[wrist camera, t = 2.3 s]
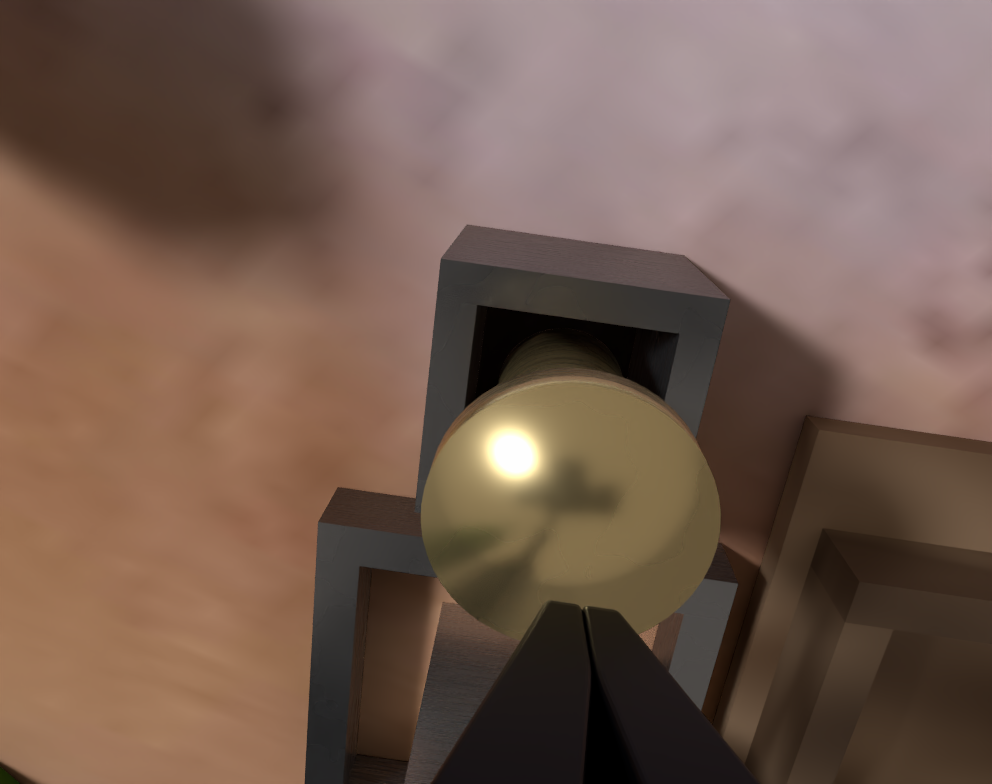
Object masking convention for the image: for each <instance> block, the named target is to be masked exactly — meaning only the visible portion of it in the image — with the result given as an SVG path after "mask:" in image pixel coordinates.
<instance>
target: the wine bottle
mask: <svg viewBox="0 0 992 784" xmlns="http://www.w3.org/2000/svg"><path fill="white" fill-rule="evenodd" d="M0 784H20V783H19V782H18V781H17V780H15V779H14V778H13V777H12V776H11V775H10V774H8V773H7V772H6V771H5V770H4V769H2V768H1V767H0Z"/></svg>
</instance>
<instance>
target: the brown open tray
mask: <svg viewBox="0 0 992 784" xmlns="http://www.w3.org/2000/svg"><path fill="white" fill-rule="evenodd" d="M713 726H714V728H715V729H716V730H717V731H718V732H719V734H720V735H721V736H722V737H723V739H724V740H725V741H726V742H727V743H728V745H729V746H730V747H731V748H732V749H733V751H734V752H735V753H736V754H737V756H738V757H739V758H740V759H741V760H742V762H743V763H744V764H745V765H746V766H747V768H748V769H749V770H750V771H751V773H752V774H753V775H754V776H755V777H756V779H757V780H758V781H759V782H760V784H992V442H986V441H979V440H972V439H965V438H958V437H951V436H944V435H938V434H931V433H924V432H917V431H910V430H903V429H896V428H889V427H882V426H875V425H868V424H861V423H854V422H847V421H840V420H833V419H827V418H820V417H813V416H806V418H805V421H804V425H803V428H802V431H801V434H800V438H799V441H798V444H797V448H796V451H795V454H794V458H793V461H792V464H791V467H790V471H789V474H788V477H787V481H786V484H785V487H784V491H783V494H782V497H781V501H780V504H779V507H778V510H777V514H776V517H775V520H774V524H773V527H772V530H771V534H770V537H769V540H768V543H767V547H766V550H765V553H764V557H763V560H762V563H761V567H760V570H759V573H758V576H757V580H756V583H755V586H754V590H753V593H752V596H751V600H750V603H749V606H748V609H747V613H746V616H745V619H744V623H743V626H742V629H741V633H740V636H739V639H738V642H737V646H736V649H735V652H734V656H733V659H732V662H731V666H730V669H729V672H728V676H727V679H726V682H725V685H724V689H723V692H722V695H721V699H720V702H719V705H718V709H717V712H716V715H715V718H714V722H713Z"/></svg>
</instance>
